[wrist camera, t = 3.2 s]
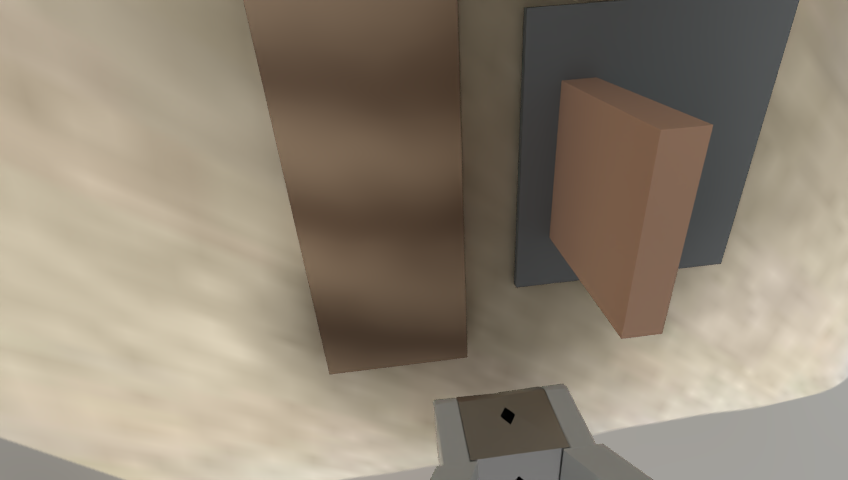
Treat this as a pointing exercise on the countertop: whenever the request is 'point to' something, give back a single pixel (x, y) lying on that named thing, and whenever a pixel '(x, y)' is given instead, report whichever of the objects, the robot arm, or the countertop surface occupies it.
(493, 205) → the countertop surface
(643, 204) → the tile
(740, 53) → the mat
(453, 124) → the board
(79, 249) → the countertop surface
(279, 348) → the countertop surface
